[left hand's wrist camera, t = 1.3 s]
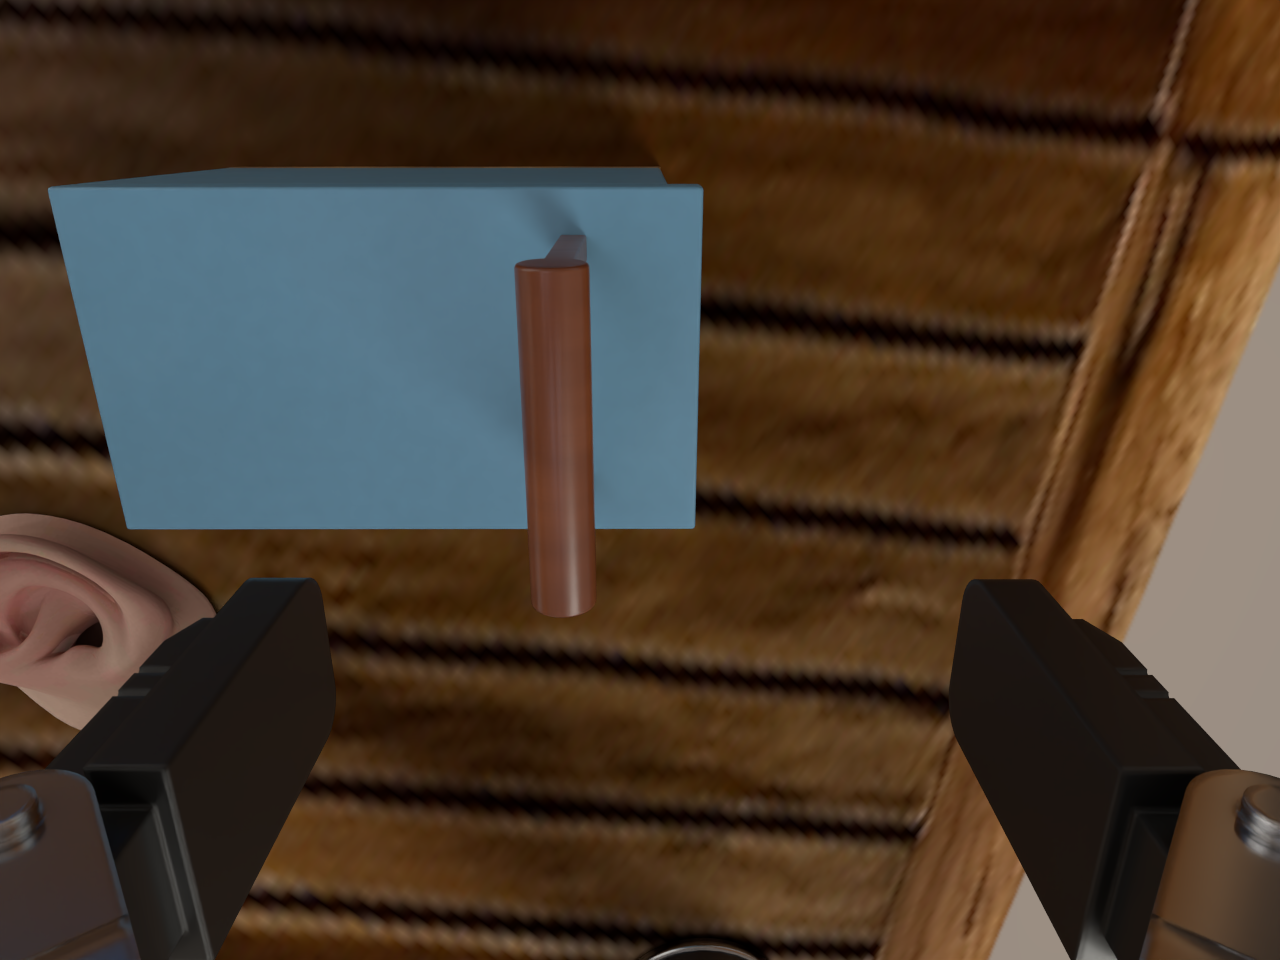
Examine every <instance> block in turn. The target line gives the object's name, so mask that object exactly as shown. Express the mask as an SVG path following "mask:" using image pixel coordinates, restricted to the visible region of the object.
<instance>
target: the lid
mask: <svg viewBox="0 0 1280 960" xmlns="http://www.w3.org/2000/svg"><path fill="white" fill-rule="evenodd" d="M48 193H49V198H50V202H51V206H52V210H53V215H54V219H55V223H56V227H57V232H58V236H59V240H60V244H61V249H62V253H63V257H64V261H65V266H66V270H67V274H68V278H69V283H70V287H71V291H72V295H73V300H74V304H75V308H76V312H77V317H78V321H79V325H80V329H81V334H82V338H83V342H84V346H85V351H86V355H87V359H88V363H89V368H90V372H91V376H92V380H93V385H94V389H95V393H96V397H97V402H98V406H99V410H100V414H101V419H102V423H103V427H104V431H105V436H106V440H107V444H108V448H109V453H110V457H111V461H112V465H113V470H114V474H115V478H116V482H117V487H118V491H119V495H120V500H121V504H122V508H123V512H124V517H125V521H126V525H127V528H128V529H528V546H529V566H530V585H531V602H532V605H533V607H534V608H535V610H536V611H538V612H539V613H541V614H543V615H546V616H550V617H559V618H564V617H573V616H578V615H581V614H583V613H586V612H587V611H589V610H590V609H591V608H593V606H594V605H595V603H596V599H597V597H596V550H595V529H692V528H694V527H695V504H696V463H697V423H698V383H699V342H700V302H701V261H702V221H703V188H702V187H701V186H700V185H698V184H72V185H62V186H53V187H50V188H48Z"/></svg>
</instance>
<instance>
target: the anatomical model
mask: <svg viewBox="0 0 1280 960" xmlns="http://www.w3.org/2000/svg"><path fill="white" fill-rule="evenodd" d="M215 615H216V612H215V610H214V608H213V606H212V605H211V603H210V602H209V601H208V599H207V598H206V597H205V596H204V594H203V593H201V592H200V591H199V590H198V589H197V588H196V587H195V586H193V585H192V584H191V583H190V582H188V581H187V580H186V579H184V578H183V577H181V576H180V575H179V574H177V573H176V572H174V571H173V570H171V569H170V568H168V567H167V566H165V565H163V564H162V563H160V562H159V561H157V560H155V559H154V558H152V557H150V556H149V555H147V554H146V553H144V552H142V551H140V550H138V549H137V548H135V547H133V546H131V545H130V544H128V543H126V542H124V541H122V540H120V539H117V538H115V537H113V536H111V535H109V534H107V533H105V532H102V531H100V530H97V529H95V528H92V527H90V526H87V525H85V524H81V523H78V522H74V521H71V520H67V519H64V518H59V517H54V516H48V515H40V514H27V513H24V514H9V515H3V516H0V683H5V684H9V685H14V686H18V687H19V688H20V689H21V690H22V691H23V692H25V693H26V694H27V695H28V696H29V697H30V698H31V699H33V700H34V701H35V702H36V703H38V704H39V705H40V706H41V707H43V708H44V709H45V710H47V711H48V712H49V713H51V714H52V715H53V716H55V717H56V718H58V719H60V720H61V721H63V722H65V723H66V724H68V725H70V726H72V727H74V728H77V729H79V730H82V729H83V728H84V727H85V725H86V724H87V723H88V722H89V721H90V720H91V719H92V718H93V717H94V716H95V715H96V714H97V713H98V711H99V710H100V709H101V708H102V707H103V706H104V705H105V704H106V703H107V702H108V701H109V700H110V699H111V697H112V696H118V690H119V689H120V688H121V687H122V686H123V685H124V683H125V682H126V681H127V680H128V679H129V678H130V677H131V676H132V675H133V674H134V673H139V667H140V666H141V665H142V664H143V663H144V662H145V661H146V660H147V659H148V658H149V657H150V655H151V654H152V653H153V652H154V651H155V650H156V649H157V648H158V647H159V646H160V645H161V644H162V643H163V641H164V640H166V639H168V638H169V637H171V636H173V635H175V634H176V633H178V632H180V631H181V630H183V629H185V628H186V627H188V626H190V625H191V624H193V623H195V622H196V621H198V620H200V619H201V618H214V617H215Z"/></svg>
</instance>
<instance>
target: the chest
mask: <svg viewBox="0 0 1280 960" xmlns="http://www.w3.org/2000/svg"><path fill="white" fill-rule="evenodd" d="M81 184H667V182H666V180H665V178H664V176H663V174H662V172H661V167H660V166H395V167H228V168H224V169H214V170H205V171H195V172H186V173H176V174H167V175H157V176H148V177H138V178H129V179H119V180H110V181H100V182H91V183H81Z"/></svg>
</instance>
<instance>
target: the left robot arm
mask: <svg viewBox="0 0 1280 960" xmlns="http://www.w3.org/2000/svg"><path fill="white" fill-rule="evenodd" d="M335 704H336V688H335V680H334V673H333V666H332V660H331V653H330V646H329V639H328V633H327V626H326V619H325V613H324V606H323V599H322V594H321V591H320V588H319V585H318V583H317V582H316V581H315V580H314V579H312V578H250V579H248V580H246V581H245V582H244V583H243V584H242V586H241V587H240V588H239V589H238V590H237V591H236V592H235V594H234V595H233V596H232V597H231V598H230V599H229V601H228V602H227V603H226V604H225V605H224V606H223V607H222V609H221V610H220V611H219V612H218V613H217V614H216V615H215V617H214V618H201V619H200V620H198V621H196V622H195V623H193V624H191V625H190V626H188V627H186V628H185V629H183V630H181V631H180V632H178V633H176V634H175V635H173V636H171V637H169V638H168V639H166V640H164V641H163V643H162V644H161V645H160V646H159V647H158V648H157V649H156V650H155V651H154V652H153V653H152V654H151V655H150V657H149V658H148V659H147V660H146V661H145V662H144V663H143V664H142V665H141V666H140V667H139V673H134V674H133V675H132V676H131V677H130V678H129V679H128V680H127V681H126V682H125V683H124V685H123V686H122V687H121V688H120V689H119V690H118V696H112V697H111V699H110V700H109V701H108V702H107V703H106V704H105V705H104V706H103V707H102V708H101V709H100V710H99V711H98V713H97V714H96V715H95V716H94V717H93V718H92V719H91V720H90V721H89V722H88V723H87V724H86V725H85V727H84V728H83V729H82V730H81V731H80V732H79V733H78V734H77V735H76V736H75V737H74V738H73V739H72V741H71V742H70V743H69V744H68V745H67V746H66V747H65V748H64V749H63V750H62V751H61V752H60V753H59V755H58V756H57V757H56V758H55V759H54V760H53V761H52V762H51V763H50V764H49V765H48V766H47V767H46V769H44V770H34V771H27V772H22V773H18V774H13V775H9V776H6V777H3V778H0V960H215V958H216V956H217V954H218V952H219V950H220V948H221V946H222V944H223V942H224V940H225V938H226V936H227V934H228V932H229V930H230V928H231V927H232V925H233V923H234V921H235V919H236V917H237V915H238V913H239V911H240V909H241V907H242V905H243V903H244V901H245V899H246V897H247V895H248V893H249V891H250V889H251V887H252V886H253V884H254V882H255V880H256V878H257V876H258V874H259V872H260V870H261V868H262V866H263V864H264V862H265V860H266V858H267V856H268V854H269V852H270V850H271V848H272V846H273V844H274V843H275V841H276V839H277V837H278V835H279V833H280V831H281V829H282V827H283V825H284V823H285V821H286V819H287V817H288V815H289V813H290V811H291V809H292V807H293V805H294V803H295V801H296V800H297V798H298V796H299V794H300V792H301V790H302V788H303V786H304V784H305V782H306V780H307V778H308V776H309V774H310V772H311V770H312V768H313V766H314V764H315V762H316V760H317V758H318V757H319V755H320V753H321V751H322V749H323V747H324V745H325V743H326V741H327V739H328V737H329V734H330V731H331V728H332V724H333V720H334V714H335ZM949 711H950V718H951V723H952V727H953V731H954V734H955V737H956V739H957V741H958V743H959V745H960V747H961V749H962V751H963V753H964V755H965V757H966V759H967V760H968V762H969V764H970V766H971V768H972V770H973V772H974V774H975V776H976V778H977V780H978V782H979V784H980V786H981V788H982V789H983V791H984V793H985V795H986V797H987V799H988V801H989V803H990V805H991V807H992V809H993V811H994V813H995V815H996V816H997V818H998V820H999V822H1000V824H1001V826H1002V828H1003V830H1004V832H1005V834H1006V836H1007V838H1008V840H1009V842H1010V843H1011V845H1012V847H1013V849H1014V851H1015V853H1016V855H1017V857H1018V859H1019V861H1020V863H1021V865H1022V867H1023V869H1024V871H1025V872H1026V874H1027V876H1028V878H1029V880H1030V882H1031V884H1032V886H1033V888H1034V890H1035V892H1036V894H1037V896H1038V897H1039V899H1040V901H1041V903H1042V905H1043V907H1044V909H1045V911H1046V913H1047V915H1048V917H1049V919H1050V921H1051V923H1052V924H1053V927H1054V928H1055V930H1056V932H1057V934H1058V936H1059V938H1060V940H1061V942H1062V944H1063V946H1064V948H1065V950H1066V952H1067V954H1068V955H1069V957H1070V959H1071V960H1280V778H1277V777H1274V776H1271V775H1267V774H1262V773H1258V772H1253V771H1245V770H1241V769H1240V768H1239V767H1238V766H1237V765H1236V764H1235V763H1234V762H1233V761H1232V760H1231V759H1230V757H1229V756H1228V755H1227V754H1226V753H1225V752H1224V751H1223V750H1222V749H1221V748H1220V747H1219V746H1218V745H1217V744H1216V743H1215V741H1214V740H1213V739H1212V738H1211V737H1210V736H1209V735H1208V734H1207V733H1206V732H1205V731H1204V730H1203V729H1202V728H1201V726H1200V725H1199V724H1198V723H1197V722H1196V721H1195V720H1194V719H1193V718H1192V717H1191V716H1190V715H1189V714H1188V713H1187V712H1186V710H1185V709H1184V708H1183V707H1182V706H1181V705H1180V704H1179V703H1178V702H1177V701H1176V700H1175V699H1174V698H1169V696H1168V691H1167V690H1166V689H1165V688H1164V687H1163V686H1162V685H1161V684H1160V683H1159V682H1158V681H1157V680H1156V678H1155V677H1154V676H1153V675H1148V674H1147V669H1146V668H1145V667H1144V666H1143V665H1142V664H1141V662H1140V661H1139V660H1138V659H1137V658H1136V657H1135V656H1134V655H1133V654H1132V653H1131V652H1130V651H1129V650H1128V649H1127V647H1126V646H1125V645H1124V644H1123V643H1122V642H1120V641H1119V640H1117V639H1115V638H1114V637H1112V636H1110V635H1108V634H1107V633H1105V632H1103V631H1102V630H1100V629H1098V628H1097V627H1095V626H1093V625H1092V624H1090V623H1088V622H1087V621H1085V620H1083V619H1072V618H1071V617H1070V616H1069V615H1068V614H1067V613H1066V612H1065V610H1064V609H1063V608H1062V607H1061V606H1060V605H1059V604H1058V602H1057V601H1056V600H1055V599H1054V598H1053V597H1052V596H1051V594H1050V593H1049V592H1048V591H1047V590H1046V589H1045V588H1044V587H1043V585H1042V584H1041V583H1040V582H1038V581H1037V580H1033V579H974V580H971V581H970V582H969V583H968V585H967V587H966V589H965V592H964V595H963V600H962V606H961V613H960V620H959V626H958V633H957V639H956V646H955V653H954V659H953V666H952V673H951V679H950V686H949ZM638 960H766V959H765V958H764V957H763V956H761V955H760V954H759V953H757V952H755V951H754V950H752V949H750V948H748V947H746V946H744V945H741V944H738V943H735V942H731V941H727V940H722V939H714V938H692V939H684V940H679V941H675V942H671V943H668V944H665V945H662V946H660V947H658V948H655V949H653V950H652V951H650V952H648V953H647V954H645V955H643V956H642V957H641V958H640V959H638Z"/></svg>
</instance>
